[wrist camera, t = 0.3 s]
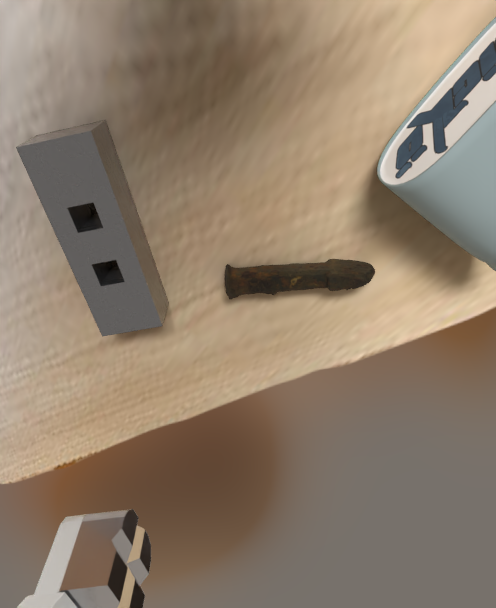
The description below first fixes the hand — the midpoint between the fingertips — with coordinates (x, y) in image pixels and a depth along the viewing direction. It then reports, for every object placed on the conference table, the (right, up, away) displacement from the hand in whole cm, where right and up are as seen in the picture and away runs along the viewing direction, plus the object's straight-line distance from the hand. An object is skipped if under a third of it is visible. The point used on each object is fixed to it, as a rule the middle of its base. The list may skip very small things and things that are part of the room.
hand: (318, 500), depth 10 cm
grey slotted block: (-19, +14, +47) cm, 52 cm away
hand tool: (+5, +9, +50) cm, 51 cm away
